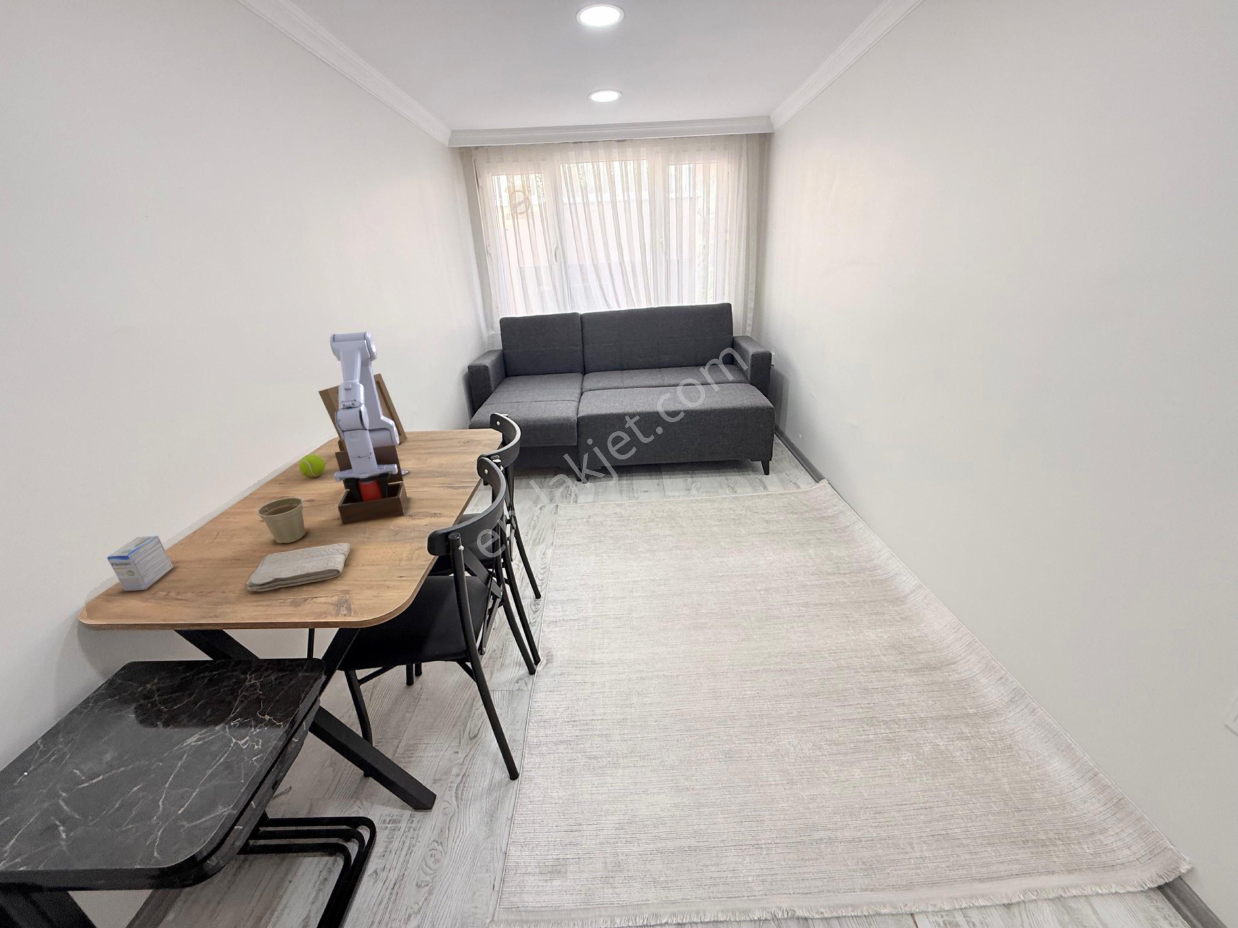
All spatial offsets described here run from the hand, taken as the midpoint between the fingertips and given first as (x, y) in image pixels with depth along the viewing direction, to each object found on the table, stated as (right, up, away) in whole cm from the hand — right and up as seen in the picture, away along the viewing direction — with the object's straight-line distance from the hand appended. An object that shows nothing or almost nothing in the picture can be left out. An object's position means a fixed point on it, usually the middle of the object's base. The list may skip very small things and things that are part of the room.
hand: (374, 501), depth 130 cm
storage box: (0, -3, +1) cm, 3 cm away
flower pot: (-16, -8, -9) cm, 20 cm away
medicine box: (-37, -15, -23) cm, 46 cm away
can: (0, -2, +1) cm, 2 cm away
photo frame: (-23, +15, +44) cm, 52 cm away
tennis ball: (-31, +6, +25) cm, 40 cm away
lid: (-2, +9, +1) cm, 9 cm away
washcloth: (-4, -14, -23) cm, 27 cm away
